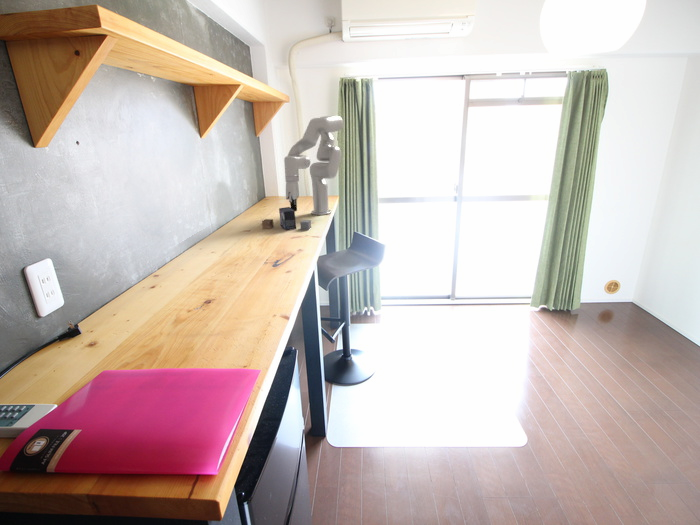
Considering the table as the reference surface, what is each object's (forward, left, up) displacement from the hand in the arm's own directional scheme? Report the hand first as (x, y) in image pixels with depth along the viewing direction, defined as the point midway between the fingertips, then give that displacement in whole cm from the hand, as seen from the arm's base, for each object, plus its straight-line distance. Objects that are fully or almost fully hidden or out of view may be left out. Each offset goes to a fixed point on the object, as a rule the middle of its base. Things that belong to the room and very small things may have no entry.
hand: (293, 211), depth 214 cm
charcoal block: (+14, +11, -7) cm, 19 cm away
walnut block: (+14, -11, -7) cm, 19 cm away
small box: (+12, 0, -7) cm, 14 cm away
